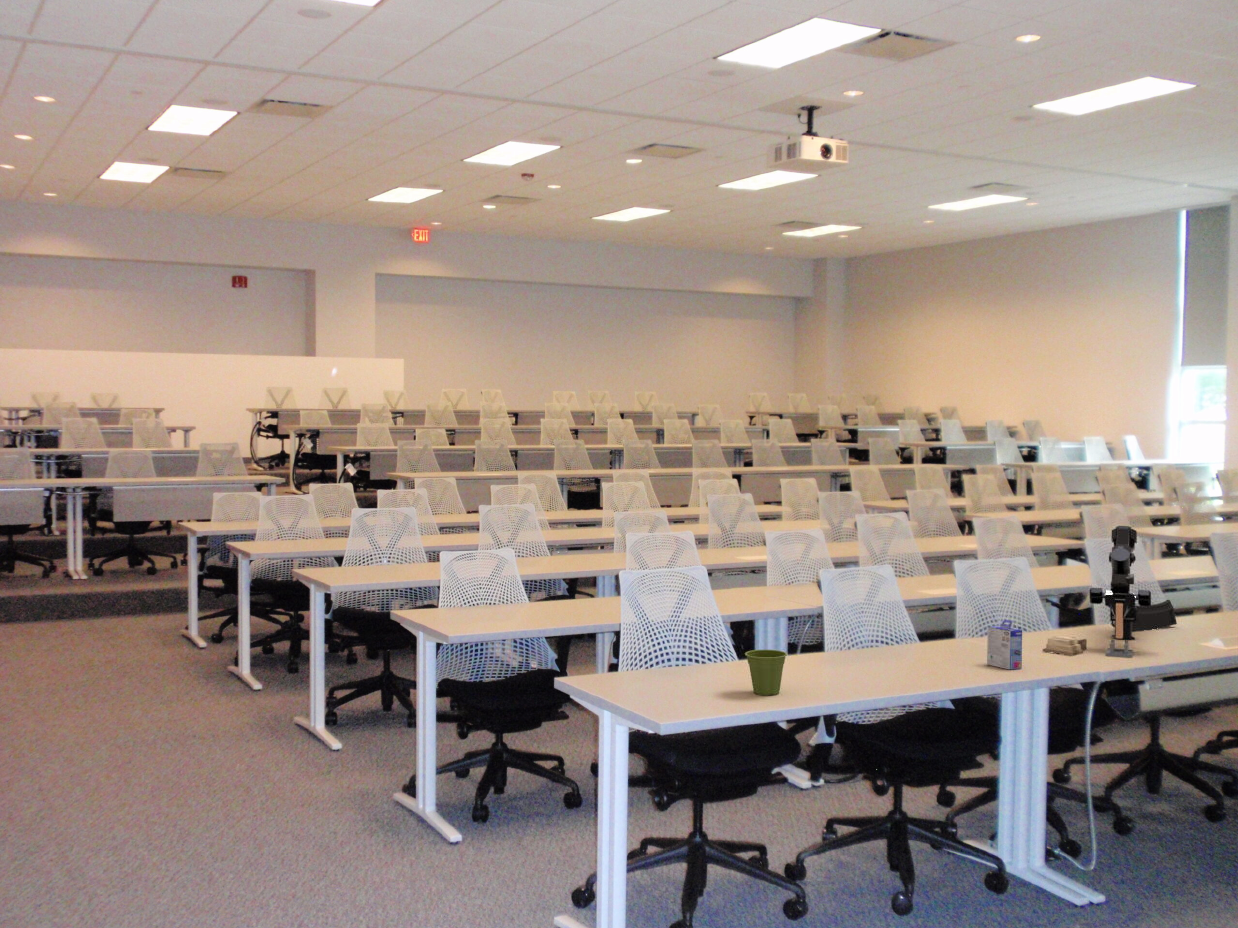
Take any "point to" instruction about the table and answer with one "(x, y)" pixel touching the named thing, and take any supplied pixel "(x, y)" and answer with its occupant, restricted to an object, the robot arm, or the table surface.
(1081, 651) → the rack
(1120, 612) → the tall peach slab
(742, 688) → the table surface
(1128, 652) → the holder
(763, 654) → the plant pot
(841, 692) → the table surface
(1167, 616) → the magazine
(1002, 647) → the ink cartridge box
